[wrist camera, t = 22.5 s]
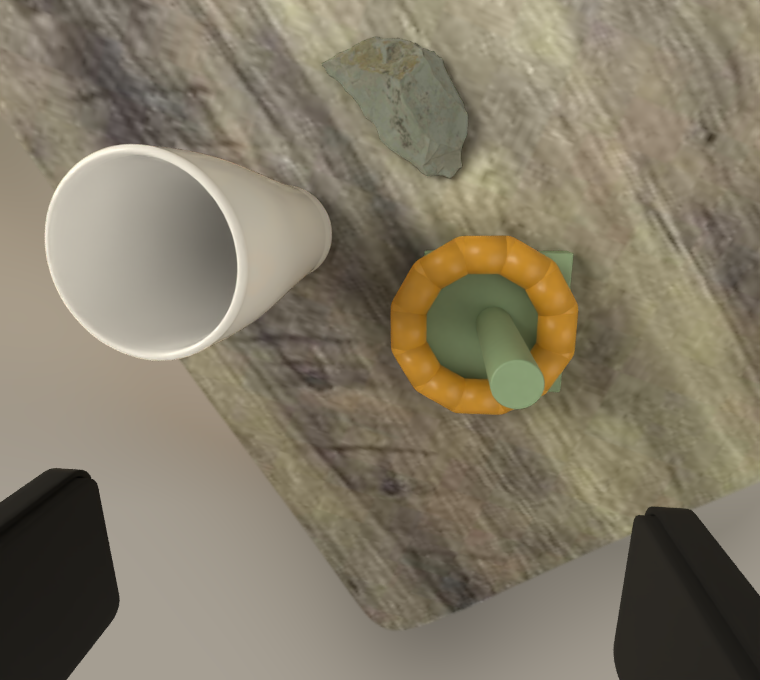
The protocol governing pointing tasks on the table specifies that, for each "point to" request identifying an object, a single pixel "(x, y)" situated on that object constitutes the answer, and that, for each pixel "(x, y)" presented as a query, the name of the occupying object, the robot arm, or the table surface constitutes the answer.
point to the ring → (480, 258)
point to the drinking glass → (176, 247)
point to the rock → (406, 101)
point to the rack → (492, 333)
